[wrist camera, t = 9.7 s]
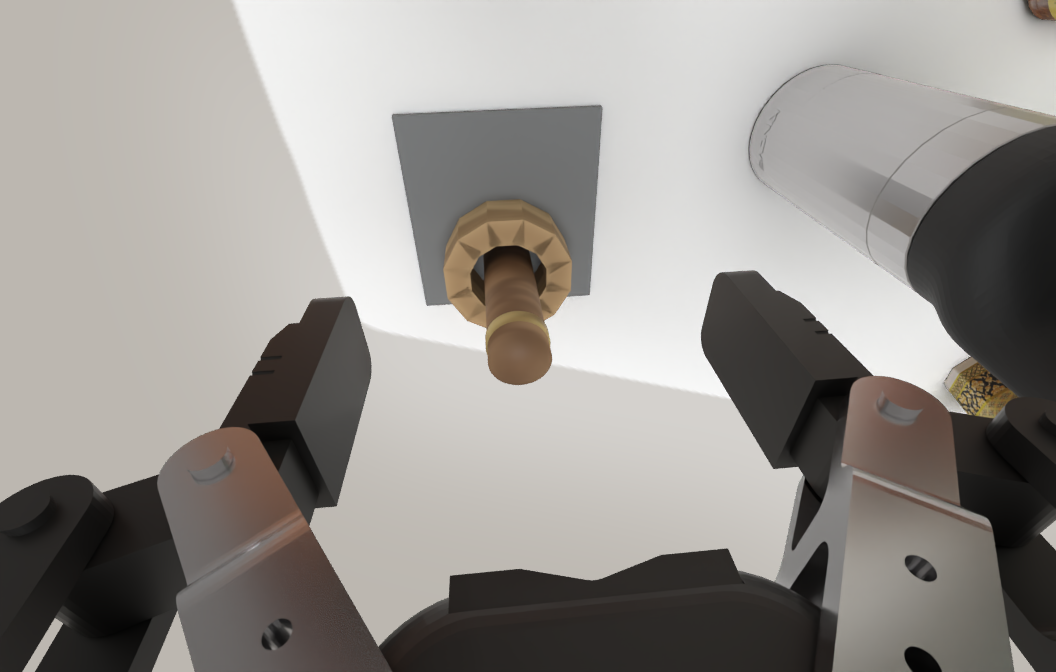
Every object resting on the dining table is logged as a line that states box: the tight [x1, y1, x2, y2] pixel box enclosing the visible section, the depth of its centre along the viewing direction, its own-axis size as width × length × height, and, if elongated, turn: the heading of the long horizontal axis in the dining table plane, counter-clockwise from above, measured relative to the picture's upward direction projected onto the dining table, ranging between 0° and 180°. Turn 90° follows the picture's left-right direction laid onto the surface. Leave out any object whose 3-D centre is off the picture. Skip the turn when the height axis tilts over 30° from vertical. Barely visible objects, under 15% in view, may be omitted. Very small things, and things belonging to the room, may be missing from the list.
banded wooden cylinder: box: [483, 245, 552, 385], centre depth 35 cm, size 4×4×14 cm
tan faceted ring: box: [443, 199, 572, 328], centre depth 39 cm, size 10×10×4 cm
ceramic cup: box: [944, 357, 1019, 418], centre depth 51 cm, size 13×10×10 cm
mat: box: [392, 106, 602, 306], centre depth 38 cm, size 15×16×1 cm
